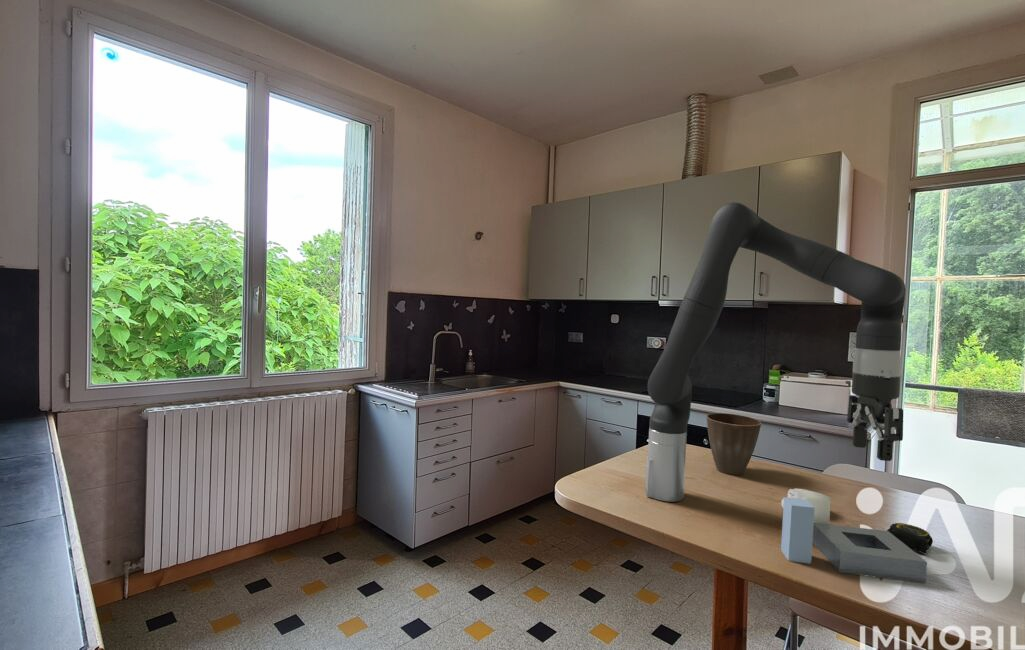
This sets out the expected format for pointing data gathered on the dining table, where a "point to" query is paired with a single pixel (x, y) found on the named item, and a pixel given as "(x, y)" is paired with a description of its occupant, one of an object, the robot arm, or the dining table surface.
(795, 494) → the mechanical component
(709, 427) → the plant pot
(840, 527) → the socket block
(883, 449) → the robot arm
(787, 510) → the square bit
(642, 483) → the dining table surface
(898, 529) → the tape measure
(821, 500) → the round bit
